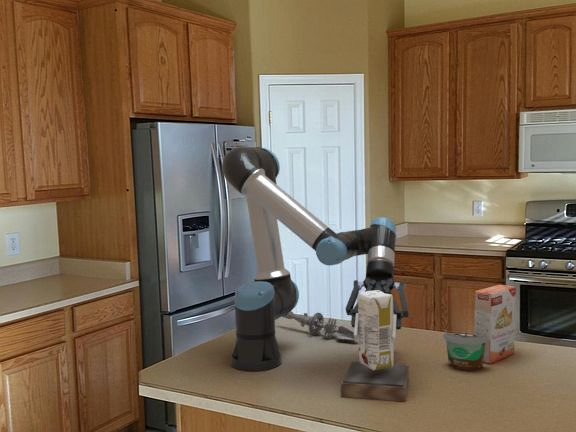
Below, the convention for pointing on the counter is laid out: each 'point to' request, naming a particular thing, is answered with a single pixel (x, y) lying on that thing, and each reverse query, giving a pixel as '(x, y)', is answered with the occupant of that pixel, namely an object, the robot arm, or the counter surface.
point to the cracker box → (496, 320)
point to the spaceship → (322, 325)
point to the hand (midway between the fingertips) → (374, 338)
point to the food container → (465, 351)
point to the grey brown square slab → (375, 382)
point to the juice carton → (375, 329)
